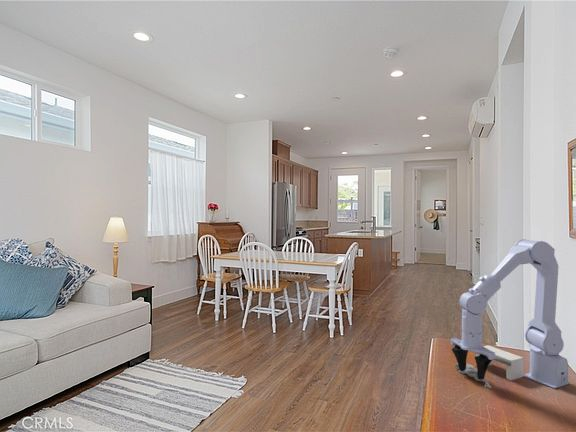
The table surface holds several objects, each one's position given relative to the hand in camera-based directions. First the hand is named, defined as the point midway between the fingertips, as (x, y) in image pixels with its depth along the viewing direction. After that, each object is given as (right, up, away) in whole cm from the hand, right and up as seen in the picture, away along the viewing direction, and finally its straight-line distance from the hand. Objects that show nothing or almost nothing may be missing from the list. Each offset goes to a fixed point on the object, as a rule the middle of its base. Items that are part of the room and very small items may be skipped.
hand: (471, 374), depth 117 cm
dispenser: (+12, -1, +6) cm, 13 cm away
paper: (+1, -2, +1) cm, 3 cm away
